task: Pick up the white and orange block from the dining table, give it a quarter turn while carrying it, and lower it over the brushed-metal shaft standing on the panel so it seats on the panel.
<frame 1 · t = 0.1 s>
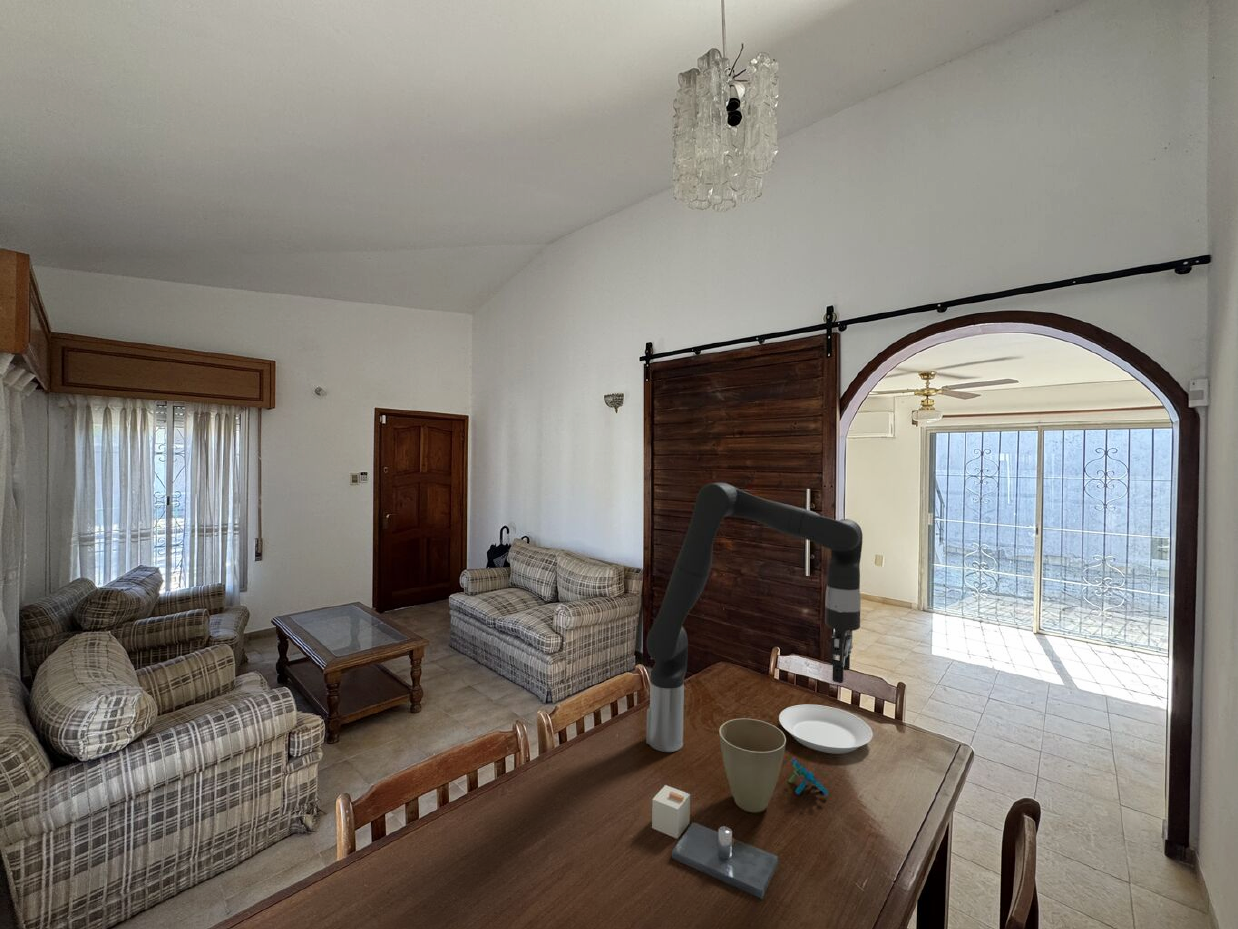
hand: (841, 675, 125), 29 cm above the table, fingers open, 8 cm apart
gear: (807, 791, 129), on the table
bowl: (824, 737, 155), on the table
white and orange block: (670, 825, 116), on the table
panel: (724, 861, 106), on the table
plant pot: (750, 803, 124), on the table
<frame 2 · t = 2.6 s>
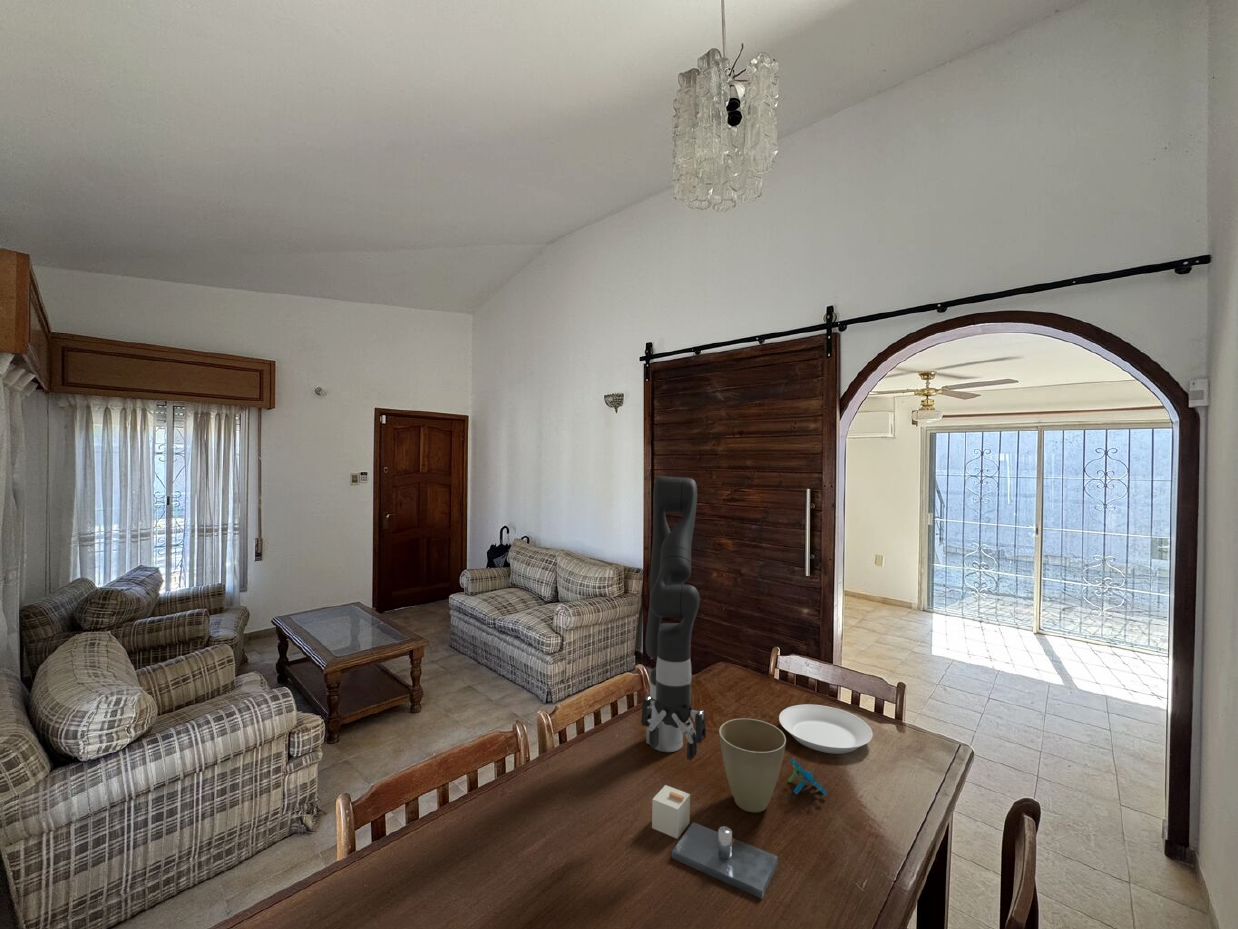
hand: (672, 752, 116), 16 cm above the table, fingers open, 8 cm apart
nothing on the table moved.
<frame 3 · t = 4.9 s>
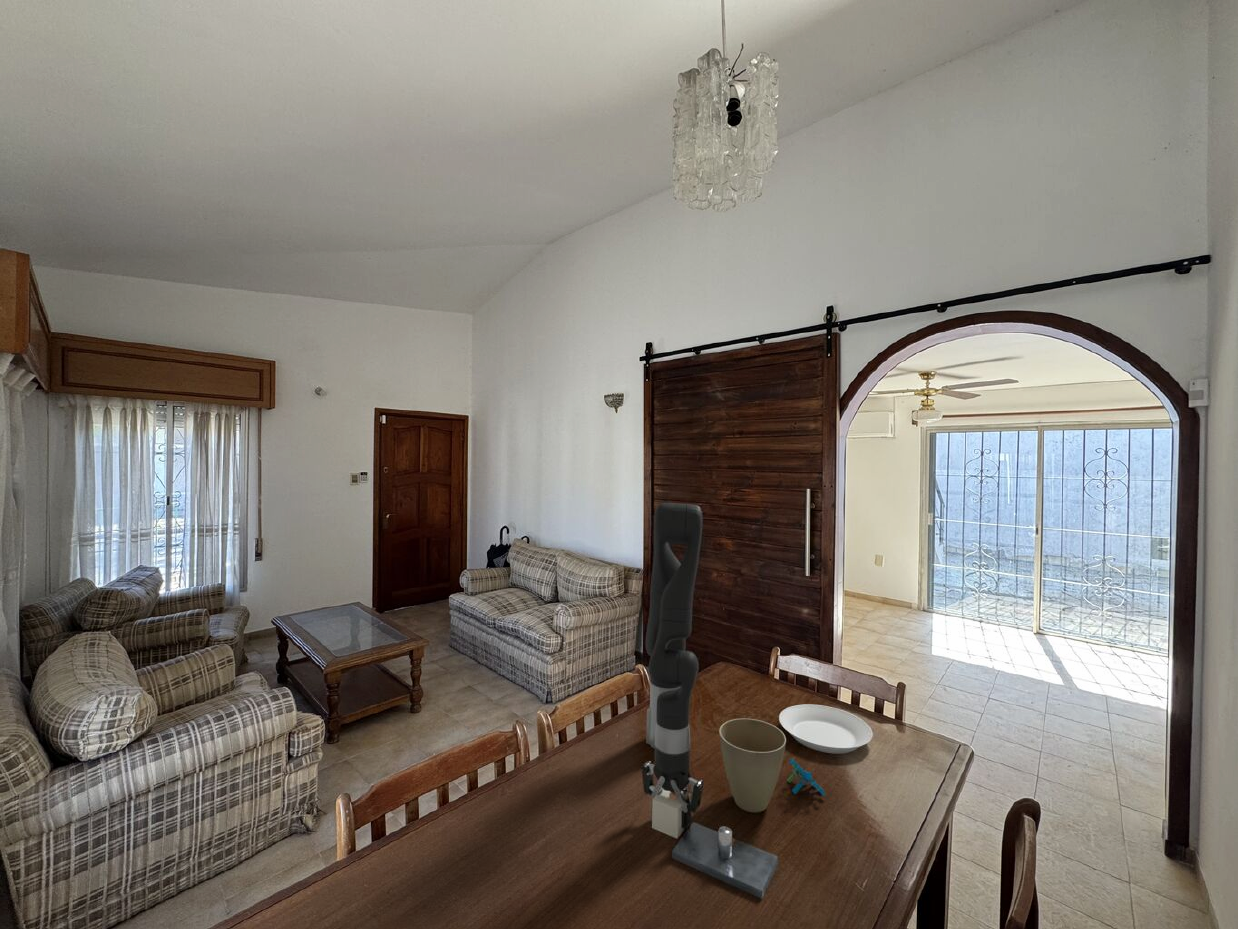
hand: (671, 820, 116), 1 cm above the table, fingers closed on white and orange block, 6 cm apart
white and orange block: (670, 825, 116), on the table, touching gripper
everything else where it was.
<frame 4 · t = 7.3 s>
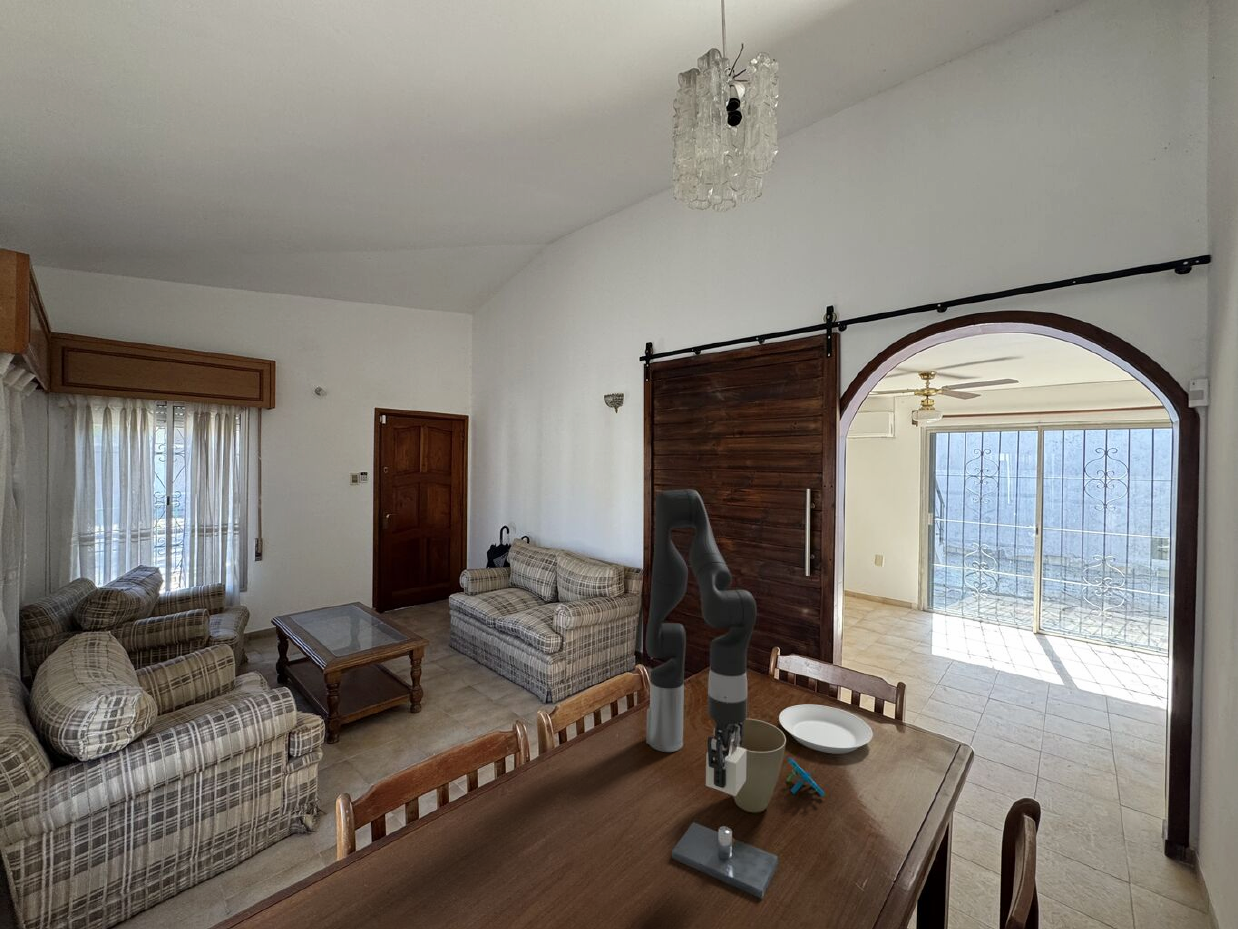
hand: (726, 777, 106), 17 cm above the table, fingers closed on white and orange block, 6 cm apart
white and orange block: (726, 783, 106), point 16 cm above the table, touching gripper
everything else where it was.
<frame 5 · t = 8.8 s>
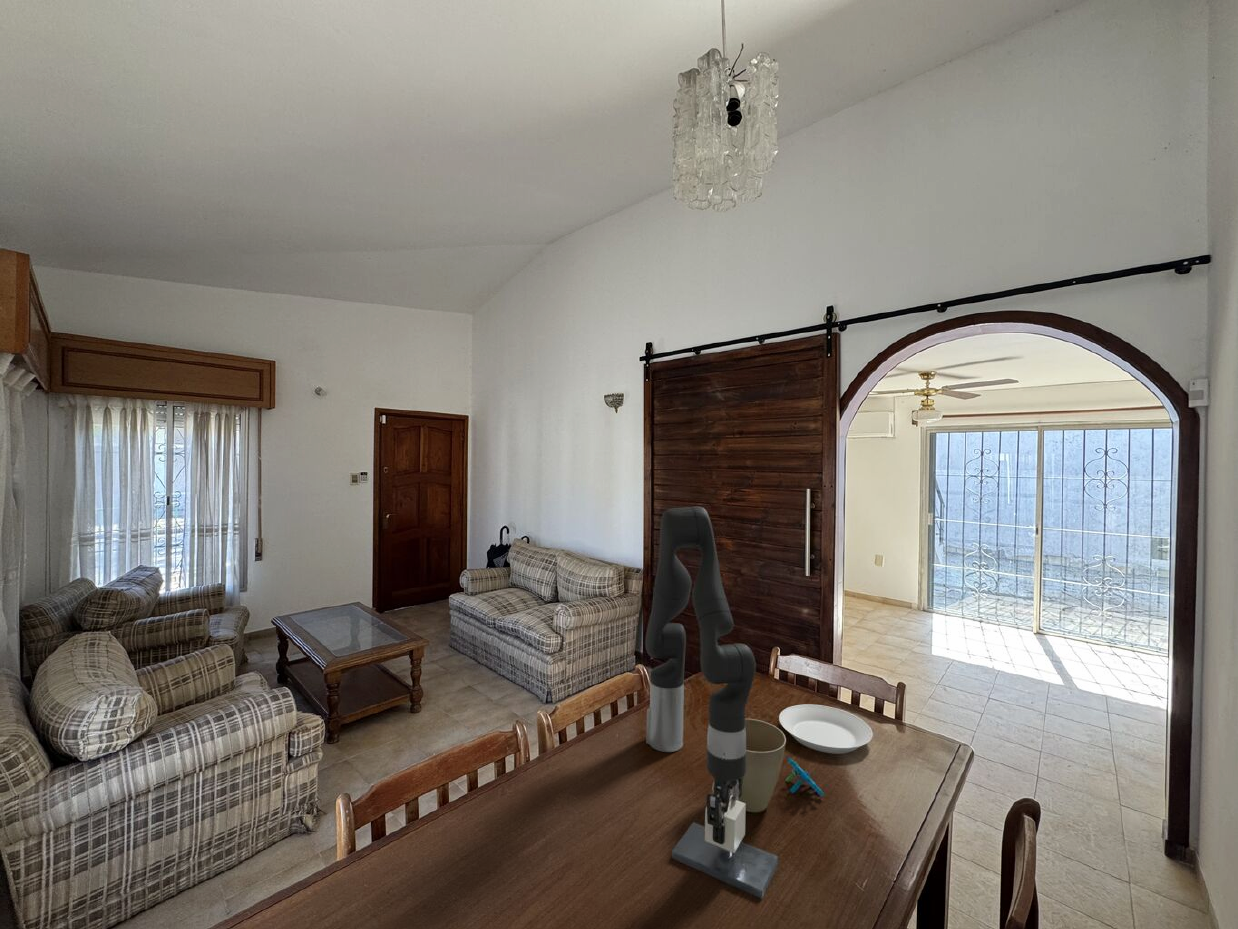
hand: (725, 831, 106), 6 cm above the table, fingers closed on white and orange block, 6 cm apart
white and orange block: (725, 837, 106), point 5 cm above the table, touching gripper
everything else where it was.
when the fingers open (4 cm above the table, at t = 10.1 s): white and orange block drops 1 cm, resting on panel.
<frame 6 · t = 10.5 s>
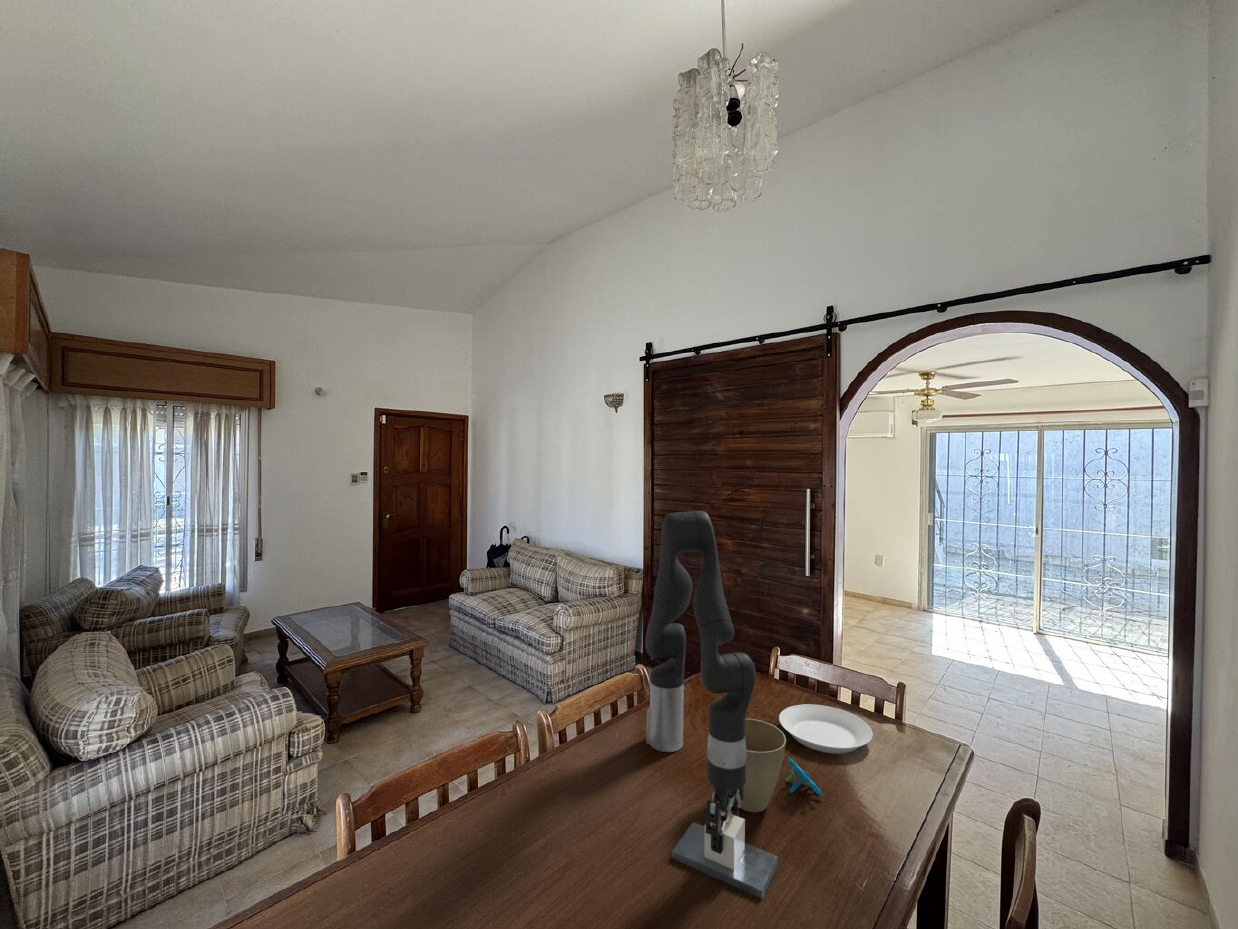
hand: (725, 838, 106), 5 cm above the table, fingers open, 8 cm apart
white and orange block: (724, 853, 106), point 2 cm above the table, touching panel
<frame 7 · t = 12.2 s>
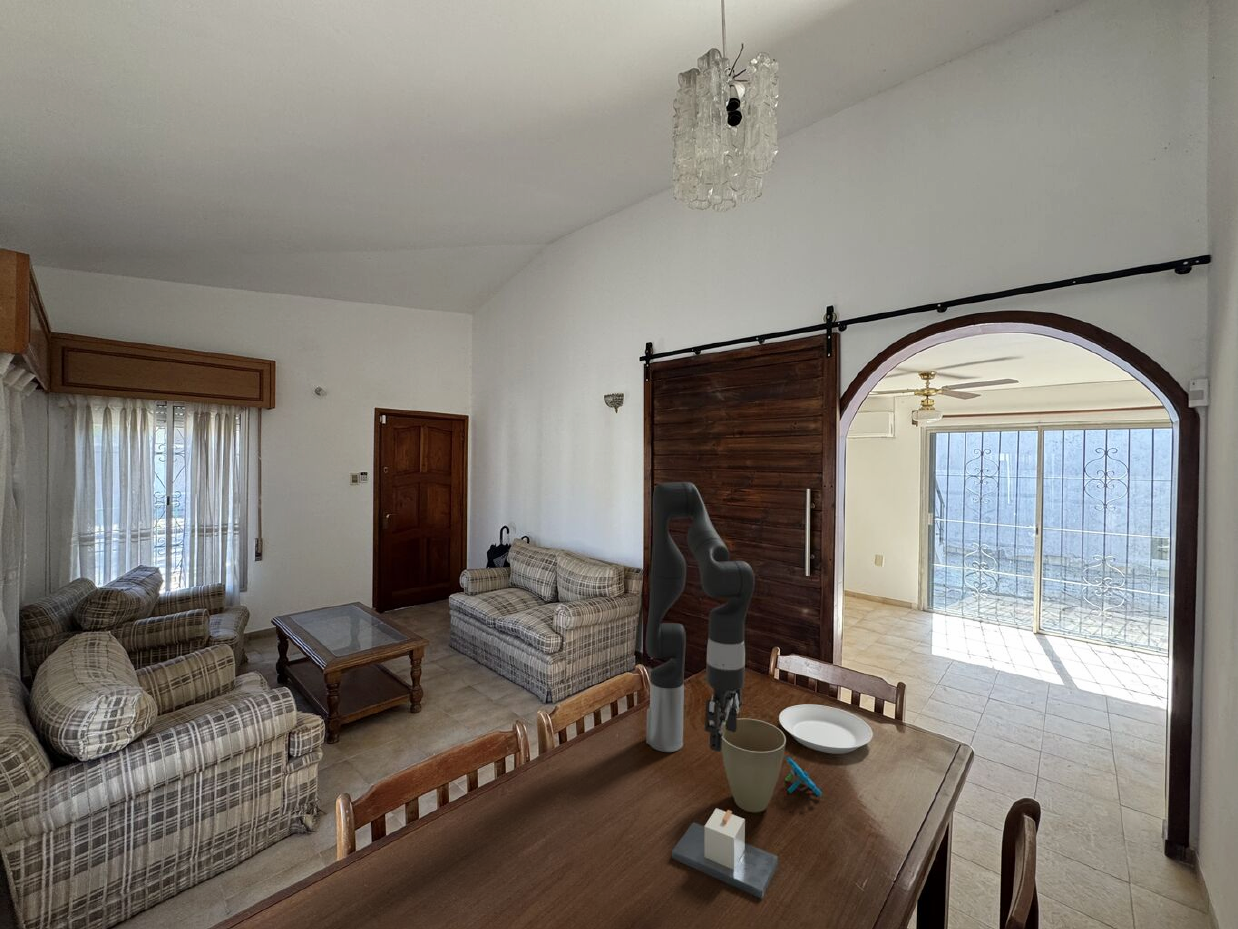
hand: (723, 739, 109), 22 cm above the table, fingers open, 8 cm apart
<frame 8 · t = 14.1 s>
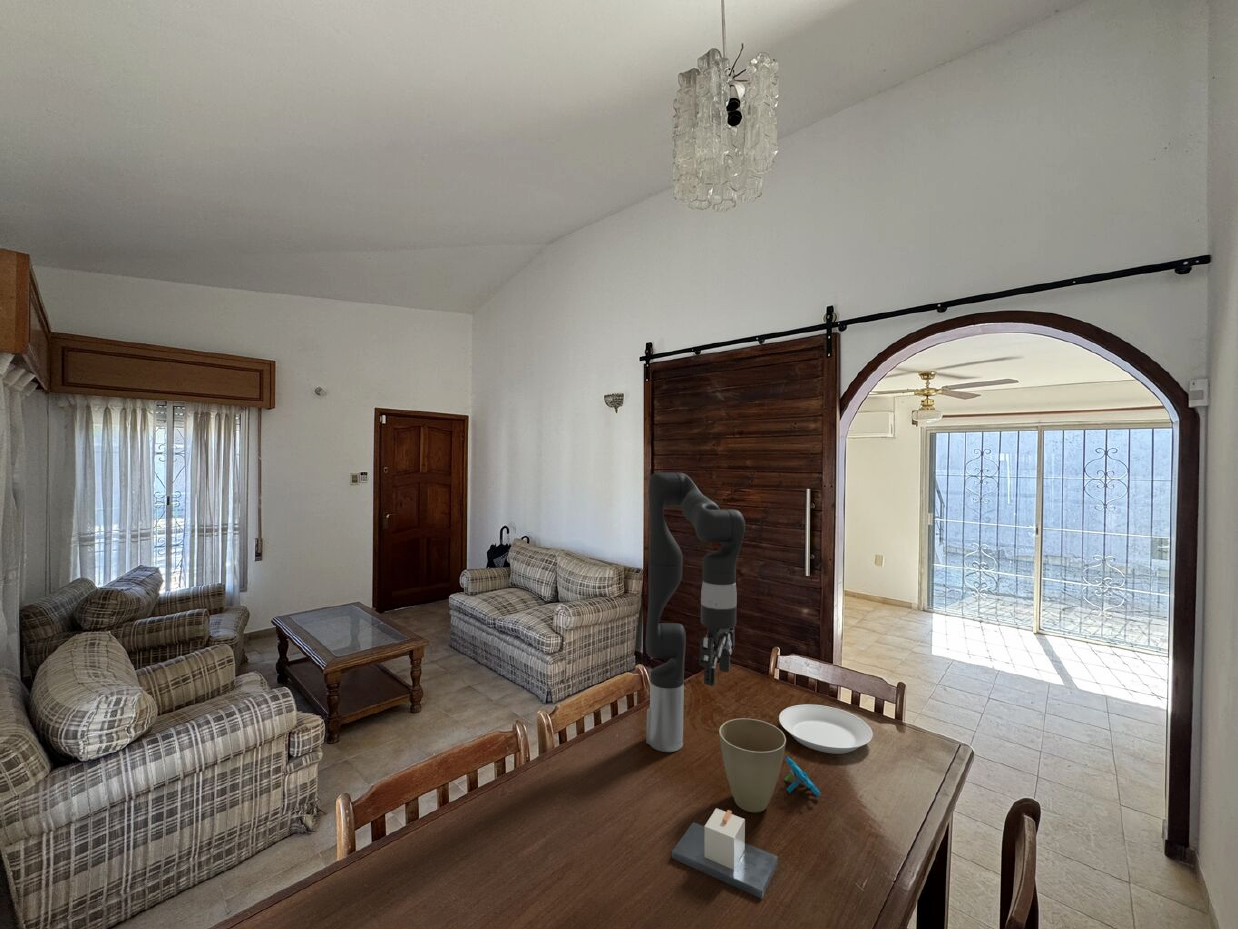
hand: (717, 677, 116), 32 cm above the table, fingers open, 8 cm apart
at the end: white and orange block 0.1 cm off-centre on the panel, point 1.6 cm above the panel's base; white and orange block tilted 2°; the gripper is holding nothing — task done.
